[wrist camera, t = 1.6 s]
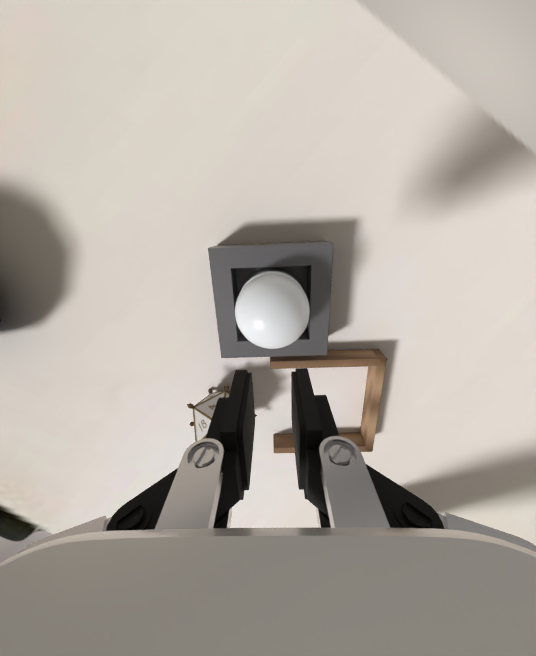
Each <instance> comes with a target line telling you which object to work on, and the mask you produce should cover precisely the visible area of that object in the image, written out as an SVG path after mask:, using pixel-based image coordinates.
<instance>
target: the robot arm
mask: <svg viewBox="0 0 536 656" xmlns="http://www.w3.org/2000/svg"><path fill="white" fill-rule="evenodd" d="M291 376H292V428H293V437H294V447H295V457H296V467H297V476H298V486H299V489H304V494H305V499H308V500H309V501H310V502H311V503H312V504H313V505H314V506H316V512H317V519H318V526H319V528H230V523H231V515H232V507H233V506H234V505H235V504H236V503H237V502H238V501H239V500H243V497H244V490H249V485H250V474H251V462H252V451H253V439H254V428H255V412H254V398H253V385H252V373H248V372H247V370H236V371H235V375H234V379H233V383H232V386H231V390H230V394H229V397H222V398H218V400H217V404H216V407H215V410H214V413H213V416H212V419H211V422H210V426H209V429H208V432H207V435H206V438H205V439H201V440H199V441H196V442H195V443H193V444H191V445H190V446H189V447H188V448H187V449H186V451H185V453H184V455H183V457H182V460H181V462H180V465H179V468H177V469H176V470H174V471H173V472H171V473H170V474H169V475H167V476H166V477H164V478H163V479H161V480H160V481H158V482H157V483H155V484H154V485H152V486H151V487H149V488H148V489H146V490H145V491H143V492H142V493H140V494H139V495H138V496H136V497H135V498H133V499H132V500H130V501H129V502H127V503H126V504H124V505H123V506H122V507H121V508H120V509H118V510H117V512H116V513H115V514H114V515H113V516H112V517H111V518H108V519H107V518H106V516H103V517H100V518H97V519H95V520H92V521H89V522H87V523H84V524H81V525H78V526H76V527H73V528H70V529H68V530H65V531H62V532H59V533H57V534H54V535H52V536H49V537H46V538H44V539H41V540H38V541H36V542H34V543H32V544H30V545H28V546H27V547H25V548H24V549H23V550H21V551H20V552H19V553H18V554H17V555H15V556H13V557H11V558H9V559H7V560H5V561H3V562H2V563H0V656H536V546H535V545H533V544H532V543H530V542H528V541H526V540H524V539H522V538H520V537H517V536H514V535H511V534H508V533H505V532H502V531H499V530H496V529H493V528H490V527H487V526H484V525H481V524H478V523H475V522H472V521H469V520H466V519H463V518H460V517H458V516H455V515H452V514H449V513H446V512H445V514H444V516H443V515H440V514H437V513H436V511H435V510H434V509H433V508H432V507H431V506H430V505H428V504H427V503H426V502H424V501H423V500H422V499H420V498H418V497H417V496H415V495H414V494H412V493H411V492H409V491H407V490H406V489H404V488H403V487H401V486H400V485H398V484H396V483H395V482H393V481H392V480H390V479H389V478H387V477H385V476H384V475H382V474H381V473H379V472H377V471H376V470H374V469H373V468H371V467H370V466H368V465H366V464H365V462H364V459H363V456H362V454H361V451H360V450H359V448H358V446H357V445H356V444H355V443H354V442H352V441H351V440H349V439H347V438H344V437H340V436H339V434H338V431H337V427H336V424H335V421H334V418H333V415H332V412H331V409H330V406H329V403H328V400H327V397H326V395H314V393H313V389H312V385H311V381H310V377H309V373H308V369H307V368H301V369H296V372H292V374H291Z"/></svg>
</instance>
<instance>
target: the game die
mask: <svg viewBox="0 0 536 656" xmlns="http://www.w3.org/2000/svg"><path fill="white" fill-rule="evenodd" d="M224 389H225V391H220V392H215V393H212V389H209V391H208V392H209V393H210V395H208V396H207V397H206V398H204V399H203V400H202V401H200V402H199V403H198V404H196V405H195V406H193V404H187V405H188V408H190V409H191V408H192V409H193V417H194V422H191V423H190V424H189V425H191V426H194V428H195V440H196V441H199V440H201V439H205V438H206V435H207V432H208V429H209V426H210V422H211V419H212V416H213V413H214V410H215V407H216V404H217V400H218V398H222V397H229V394H230V392H229V391H228V389H229V386H228V385H226V386H225V388H224ZM256 416H257V415H256V414H255V417H256Z"/></svg>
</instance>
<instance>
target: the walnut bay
mask: <svg viewBox="0 0 536 656" xmlns="http://www.w3.org/2000/svg"><path fill="white" fill-rule="evenodd" d="M386 360H387V358H386V357H385V356H384V355H383V354H382V353H381V351H380V350H379V349H366V350H330V351H327V355H312V356H275V357H270V369H282V368H321V367H359V366H369V367H368V374H367V382H366V390H365V398H364V406H363V414H362V422H361V430H360V433H338V434H339V436H340V437H344V438H347V439H349V440H351V441H352V442H354V443H355V444H356V445H357V446H358V448H359V450H360V451H361V452H372V450H373V444H374V437H375V431H376V424H377V418H378V412H379V405H380V399H381V392H382V386H383V380H384V373H385V367H386ZM274 453H295V447H294V437H293V434H274Z"/></svg>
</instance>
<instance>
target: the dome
mask: <svg viewBox="0 0 536 656" xmlns="http://www.w3.org/2000/svg"><path fill="white" fill-rule="evenodd" d="M309 315H310V307H309V302H308V299H307V296H306V294H305V292H304V290H303V288H302V286H301V284H300V283H299V281H298V280H297V279H296V278H295V277H294V276H293V275H291V274H290V273H288V272H286V271H283V270H280V269H265V270H261V271H259V272H257V273H255V274H253V275H252V276H251V277H250V278H249V279H248V280H247V281H246V282H245V284H244V286H243V287H242V289H241V291H240V293H239V296H238V298H237V301H236V305H235V317H236V322H237V325H238V327H239V329H240V331H241V332H242V334H243V335H244V336H245V337H246V338H247V339H248V340H249V341H250V342H251V343H253V344H255V345H257V346H259V347H263V348H268V349H277V348H282V347H285V346H288V345H290V344H292V343H293V342H295V341H296V340H297V339H298V338H299V337H300V336H301V335H302V333H303V332H304V330H305V329H306V327H307V324H308V321H309Z"/></svg>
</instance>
